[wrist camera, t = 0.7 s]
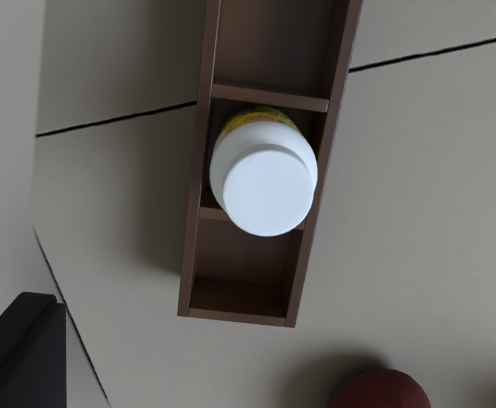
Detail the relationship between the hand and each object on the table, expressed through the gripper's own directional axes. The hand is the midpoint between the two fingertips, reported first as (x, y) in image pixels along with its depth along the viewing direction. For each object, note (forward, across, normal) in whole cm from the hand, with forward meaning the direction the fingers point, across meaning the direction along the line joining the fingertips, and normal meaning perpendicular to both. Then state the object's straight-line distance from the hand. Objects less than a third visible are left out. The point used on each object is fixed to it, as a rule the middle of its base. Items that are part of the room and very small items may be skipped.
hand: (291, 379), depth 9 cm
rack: (+21, 0, 0) cm, 21 cm away
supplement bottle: (+20, 0, 0) cm, 20 cm away
